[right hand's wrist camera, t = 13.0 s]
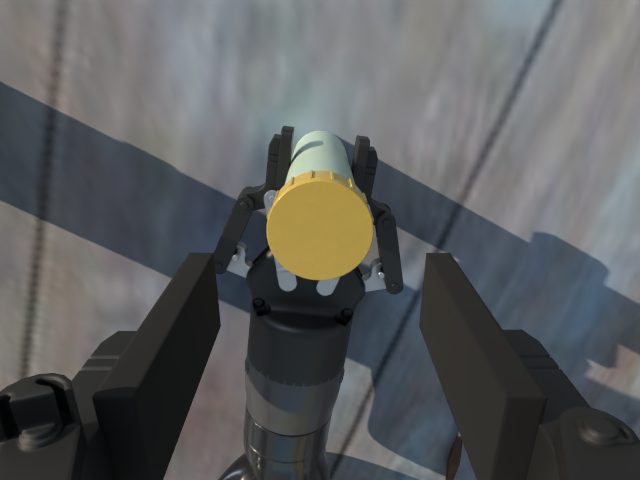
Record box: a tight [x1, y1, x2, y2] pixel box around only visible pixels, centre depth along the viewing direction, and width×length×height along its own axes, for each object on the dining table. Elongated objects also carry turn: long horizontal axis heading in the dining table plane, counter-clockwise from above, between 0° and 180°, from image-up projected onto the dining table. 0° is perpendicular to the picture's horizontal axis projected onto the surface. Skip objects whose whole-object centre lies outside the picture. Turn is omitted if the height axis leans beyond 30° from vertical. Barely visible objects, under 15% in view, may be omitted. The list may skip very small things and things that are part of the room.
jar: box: [285, 131, 355, 184], centre depth 27 cm, size 4×4×16 cm
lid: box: [267, 170, 374, 280], centre depth 20 cm, size 5×5×2 cm
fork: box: [446, 432, 462, 480], centre depth 44 cm, size 3×16×2 cm, turn 176°
